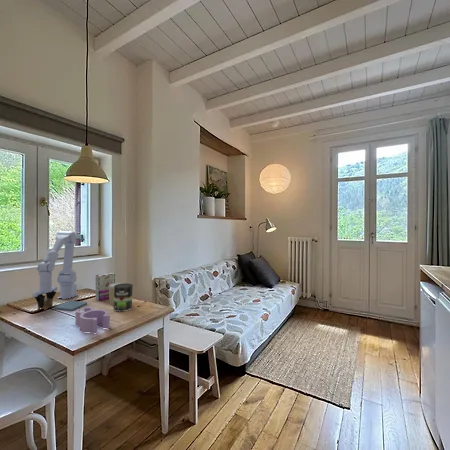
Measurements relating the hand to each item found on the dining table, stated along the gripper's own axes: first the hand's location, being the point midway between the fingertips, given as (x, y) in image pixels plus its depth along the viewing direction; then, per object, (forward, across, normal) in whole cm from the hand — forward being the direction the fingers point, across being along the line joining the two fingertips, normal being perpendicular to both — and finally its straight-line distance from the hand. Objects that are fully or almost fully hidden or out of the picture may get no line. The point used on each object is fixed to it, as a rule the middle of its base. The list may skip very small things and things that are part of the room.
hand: (45, 305), depth 148 cm
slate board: (+1, +6, -12) cm, 13 cm away
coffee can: (+2, +11, -43) cm, 44 cm away
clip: (+2, -14, -42) cm, 44 cm away
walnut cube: (+1, 0, 0) cm, 1 cm away
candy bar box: (+2, +25, -21) cm, 33 cm away
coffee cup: (+2, +18, -34) cm, 39 cm away
